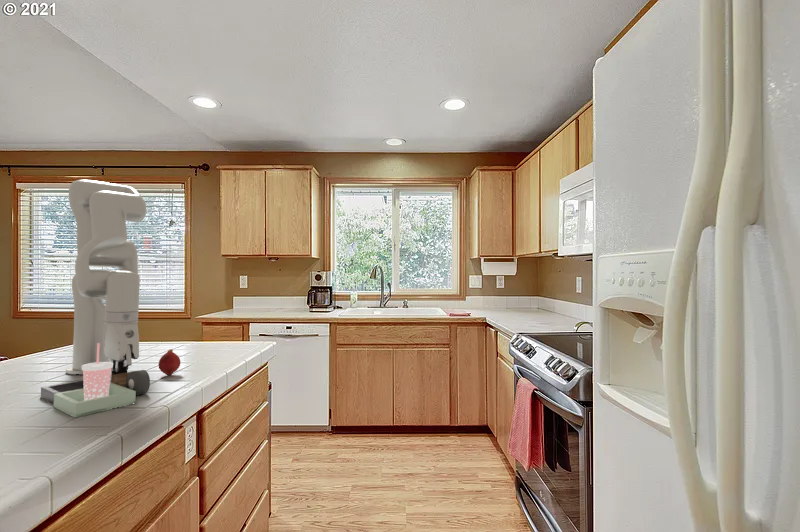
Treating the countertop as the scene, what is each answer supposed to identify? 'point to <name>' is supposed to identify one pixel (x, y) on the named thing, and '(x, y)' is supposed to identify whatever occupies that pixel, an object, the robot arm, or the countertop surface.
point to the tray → (93, 401)
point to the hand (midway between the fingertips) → (118, 384)
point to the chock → (120, 379)
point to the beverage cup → (96, 378)
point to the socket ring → (60, 389)
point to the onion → (169, 363)
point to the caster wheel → (138, 381)
